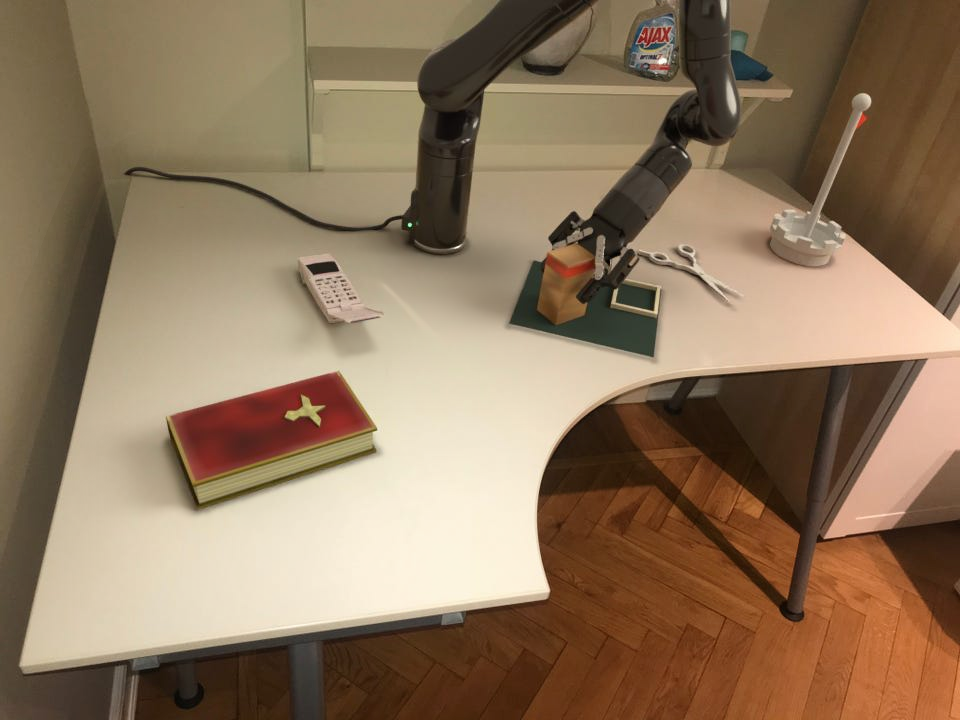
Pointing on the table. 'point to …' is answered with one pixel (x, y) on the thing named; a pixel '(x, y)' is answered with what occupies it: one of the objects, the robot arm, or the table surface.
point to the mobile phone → (333, 290)
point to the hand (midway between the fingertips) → (560, 286)
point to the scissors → (695, 269)
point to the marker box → (565, 283)
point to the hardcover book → (269, 437)
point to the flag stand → (816, 210)
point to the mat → (599, 315)
